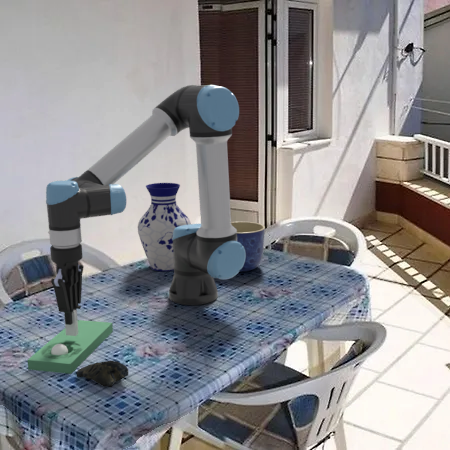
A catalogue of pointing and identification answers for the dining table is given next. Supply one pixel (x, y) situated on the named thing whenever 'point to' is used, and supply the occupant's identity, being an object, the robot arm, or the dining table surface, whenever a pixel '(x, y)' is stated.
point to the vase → (161, 225)
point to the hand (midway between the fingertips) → (72, 334)
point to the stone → (104, 372)
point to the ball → (59, 350)
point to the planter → (250, 242)
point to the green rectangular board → (71, 348)
